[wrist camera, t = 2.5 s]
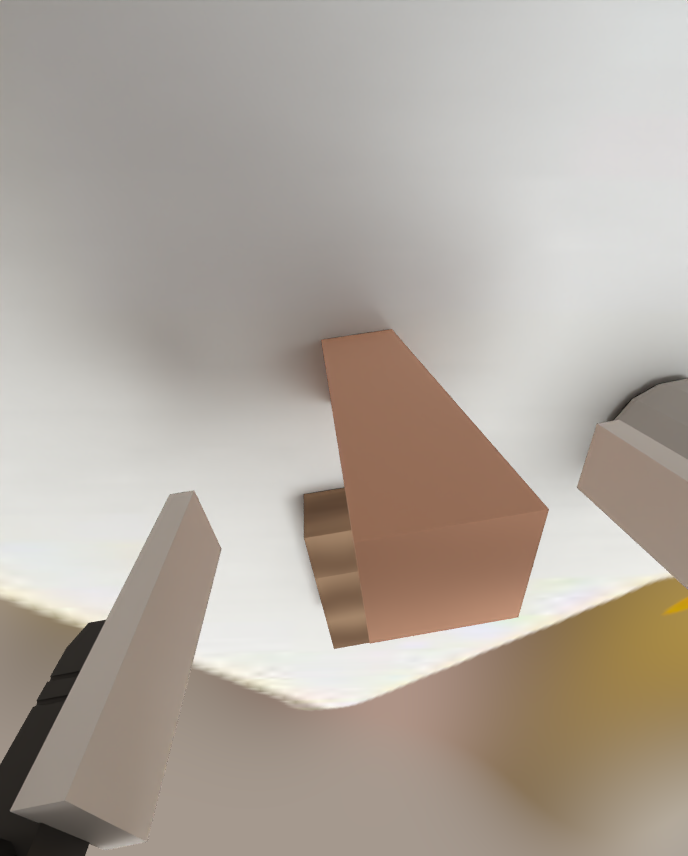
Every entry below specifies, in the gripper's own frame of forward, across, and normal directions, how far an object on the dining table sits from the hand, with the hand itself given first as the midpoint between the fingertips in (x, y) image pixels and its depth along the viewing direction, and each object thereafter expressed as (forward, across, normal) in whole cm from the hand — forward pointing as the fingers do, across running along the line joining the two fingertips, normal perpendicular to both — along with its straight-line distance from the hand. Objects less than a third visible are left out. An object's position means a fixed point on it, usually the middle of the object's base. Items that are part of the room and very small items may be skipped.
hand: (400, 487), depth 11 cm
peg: (+10, 0, 0) cm, 10 cm away
